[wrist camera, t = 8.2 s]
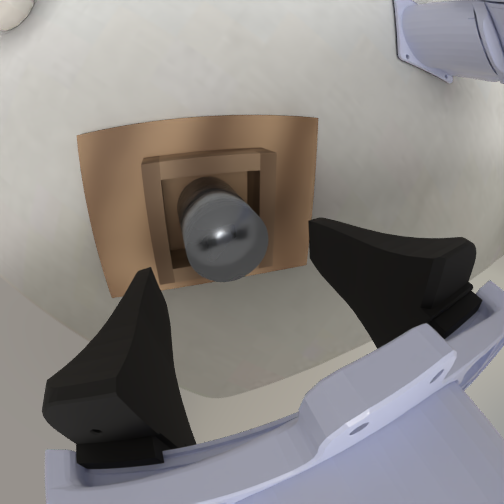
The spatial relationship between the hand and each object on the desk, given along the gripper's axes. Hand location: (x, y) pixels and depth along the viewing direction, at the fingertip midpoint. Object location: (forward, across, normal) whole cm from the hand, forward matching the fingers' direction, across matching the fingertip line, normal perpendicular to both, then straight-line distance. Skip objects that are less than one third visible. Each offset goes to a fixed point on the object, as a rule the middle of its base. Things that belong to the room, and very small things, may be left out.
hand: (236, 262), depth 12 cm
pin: (+7, 0, 0) cm, 7 cm away
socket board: (+8, 0, 0) cm, 8 cm away
